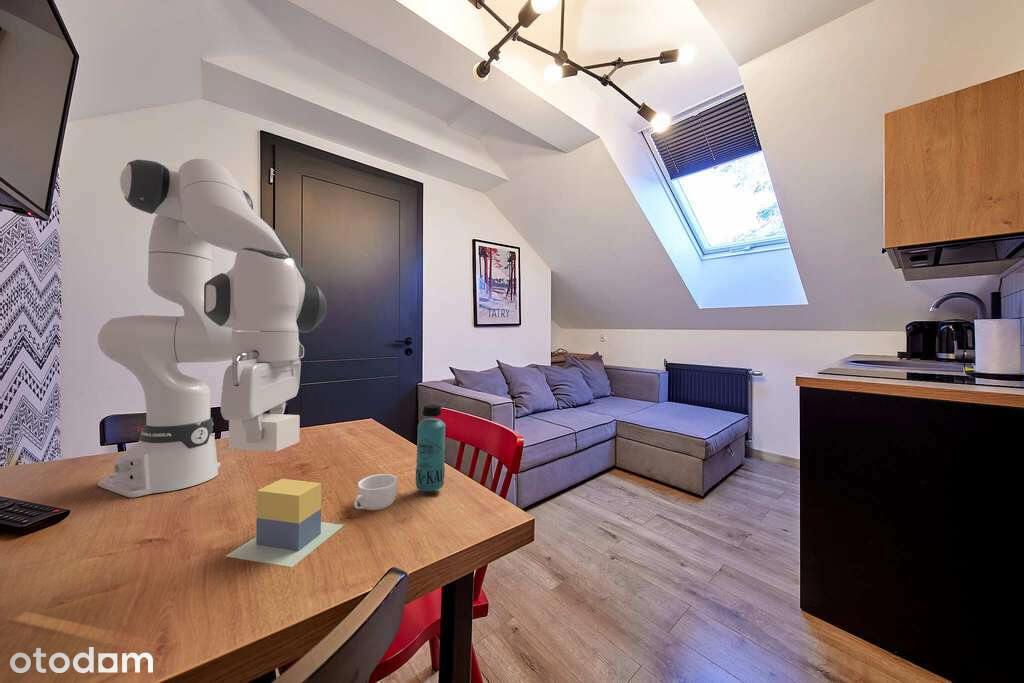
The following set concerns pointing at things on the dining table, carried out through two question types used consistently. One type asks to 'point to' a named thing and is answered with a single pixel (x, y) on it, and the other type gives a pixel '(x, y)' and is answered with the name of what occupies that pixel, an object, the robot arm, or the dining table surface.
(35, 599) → the dining table surface
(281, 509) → the mustard brick
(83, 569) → the dining table surface
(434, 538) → the dining table surface
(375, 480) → the teacup
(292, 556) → the build plate
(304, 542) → the navy brick
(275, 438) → the cream brick
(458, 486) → the dining table surface
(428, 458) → the beverage bottle
